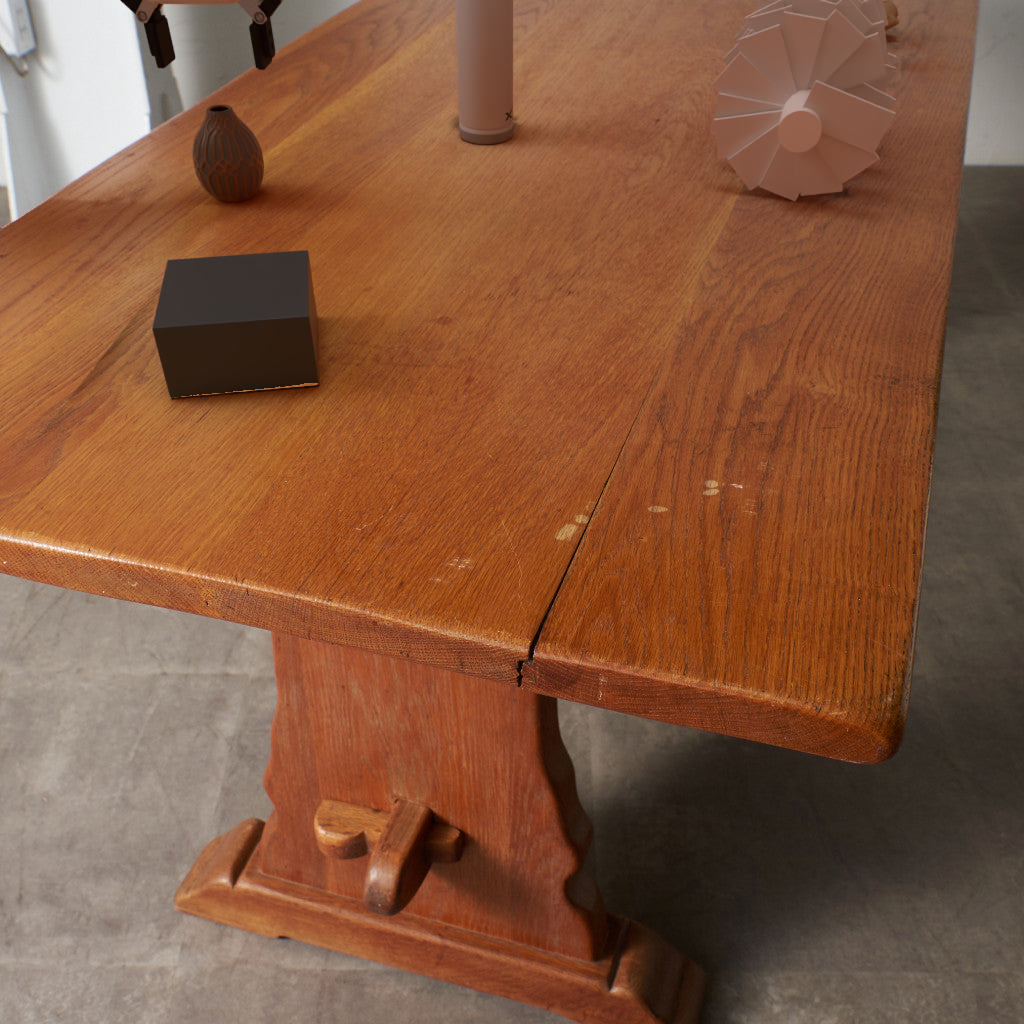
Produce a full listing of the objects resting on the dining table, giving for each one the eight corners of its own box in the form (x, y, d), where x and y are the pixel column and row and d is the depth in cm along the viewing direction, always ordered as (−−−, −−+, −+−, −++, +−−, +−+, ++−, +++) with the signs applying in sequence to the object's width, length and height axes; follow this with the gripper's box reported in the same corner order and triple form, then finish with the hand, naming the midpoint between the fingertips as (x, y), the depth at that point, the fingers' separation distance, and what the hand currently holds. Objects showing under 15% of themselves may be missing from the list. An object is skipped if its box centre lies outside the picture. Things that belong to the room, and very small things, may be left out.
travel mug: (524, 139, 117) (526, -56, 104) (472, 148, 115) (467, -50, 102) (501, 122, 121) (500, -66, 108) (451, 131, 119) (444, -61, 106)
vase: (269, 205, 102) (255, 117, 97) (199, 210, 101) (181, 122, 96) (268, 179, 108) (254, 94, 102) (201, 184, 106) (184, 99, 101)
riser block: (170, 399, 75) (151, 328, 71) (183, 326, 83) (167, 259, 80) (319, 386, 76) (309, 315, 73) (317, 316, 85) (308, 249, 81)
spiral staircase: (735, 241, 105) (757, 145, 123) (913, 187, 97) (909, 93, 114) (675, 72, 96) (708, -5, 113) (867, -4, 87) (870, -75, 105)
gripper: (56, -141, 83) (113, 76, 94) (260, -142, 82) (293, 78, 93) (94, -153, 89) (143, 52, 100) (285, -154, 87) (313, 54, 98)
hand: (215, 64), depth 96 cm, fingers open, 9 cm apart
